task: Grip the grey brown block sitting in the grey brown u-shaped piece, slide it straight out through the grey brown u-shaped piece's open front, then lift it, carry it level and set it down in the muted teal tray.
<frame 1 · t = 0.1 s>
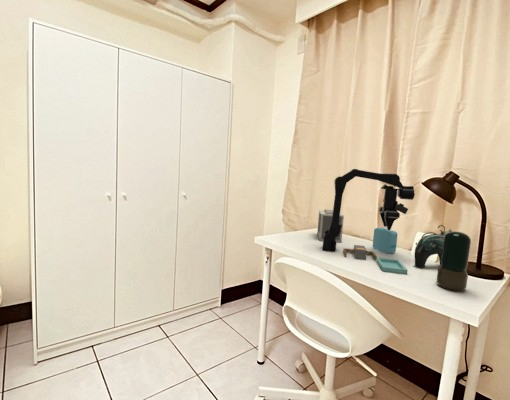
hand: (386, 228, 146), 15 cm above the table, tool pointing down, fingers open, 9 cm apart
data package: (383, 251, 157), on the table
grey brown u-shaped piece: (359, 256, 145), on the table
travel neck pillow: (433, 267, 134), on the table
grey brown block: (359, 257, 143), on the table
tray: (390, 267, 129), on the table
alarm clock: (328, 238, 179), on the table
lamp: (450, 287, 110), on the table
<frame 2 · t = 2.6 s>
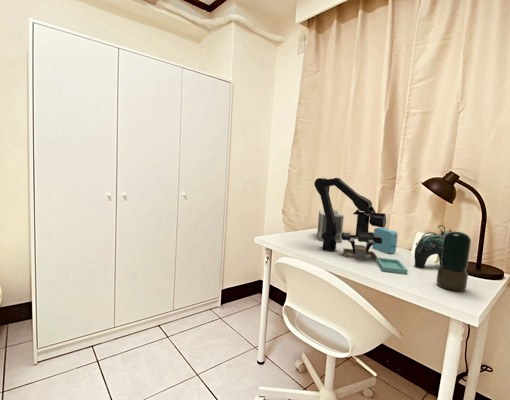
hand: (359, 254, 143), 1 cm above the table, tool pointing down, fingers closed on grey brown block, 5 cm apart
grey brown block: (359, 256, 143), on the table, touching gripper
everything else where it was.
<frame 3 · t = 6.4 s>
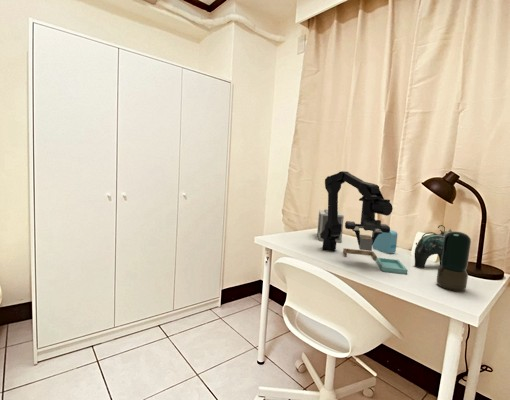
hand: (365, 245, 131), 9 cm above the table, tool pointing down, fingers closed on grey brown block, 5 cm apart
grey brown block: (364, 247, 131), point 8 cm above the table, touching gripper
everything else where it was.
when the fingers open (3 cm above the table, at t = 10.4 s): grey brown block drops 1 cm, resting on tray.
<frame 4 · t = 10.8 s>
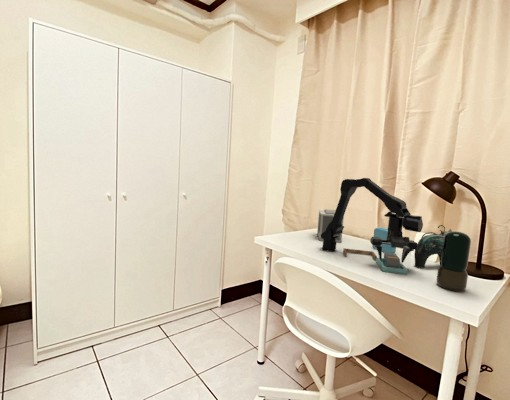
hand: (391, 261, 129), 3 cm above the table, tool pointing down, fingers open, 9 cm apart
grey brown block: (390, 266, 129), resting on tray
everything else where it was.
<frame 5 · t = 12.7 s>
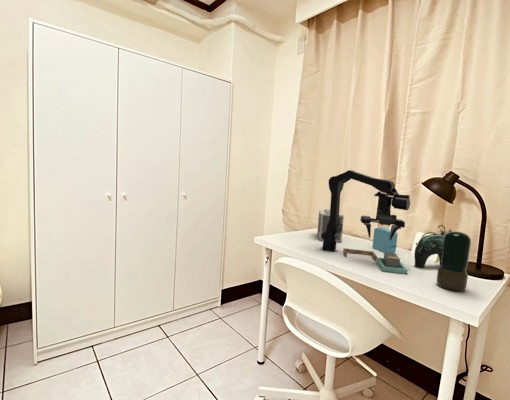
hand: (379, 239, 135), 11 cm above the table, tool pointing down, fingers open, 9 cm apart
nothing on the table moved.
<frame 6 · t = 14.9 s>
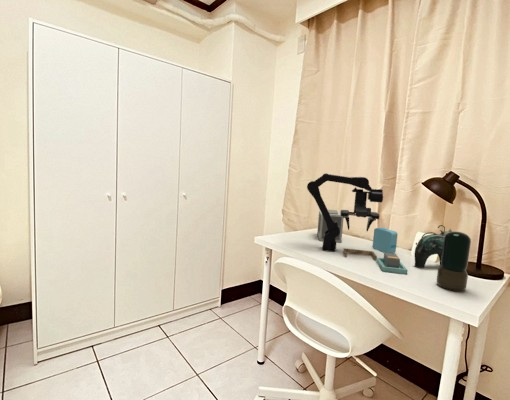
hand: (357, 230, 149), 12 cm above the table, tool pointing down, fingers open, 9 cm apart
nothing on the table moved.
at the end: grey brown block 0.1 cm off-centre on the tray, point 0.5 cm above the tray's base; grey brown block tilted 0°; the gripper is holding nothing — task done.
